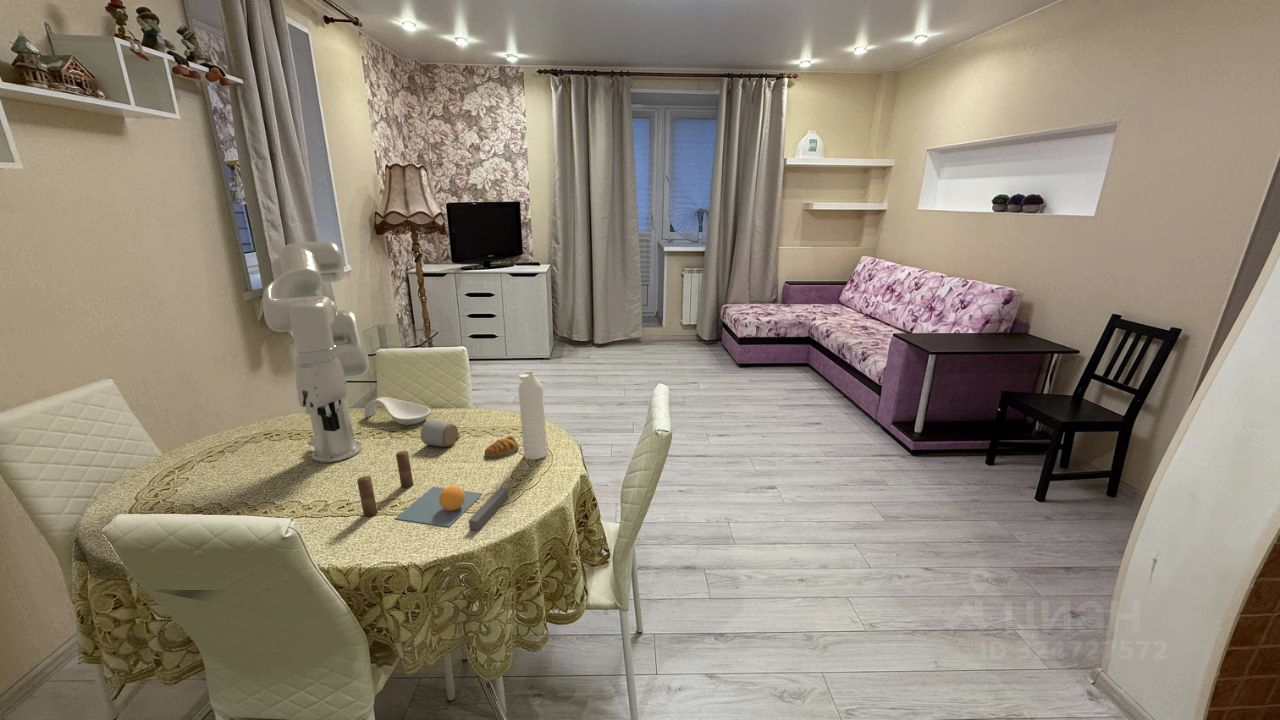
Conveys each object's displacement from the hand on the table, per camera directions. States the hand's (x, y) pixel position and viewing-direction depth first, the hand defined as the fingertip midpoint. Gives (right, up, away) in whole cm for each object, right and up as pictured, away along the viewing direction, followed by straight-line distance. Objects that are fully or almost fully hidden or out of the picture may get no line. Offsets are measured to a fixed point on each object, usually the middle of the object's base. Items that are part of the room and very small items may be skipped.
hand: (332, 429), depth 125 cm
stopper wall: (+39, -19, -5) cm, 44 cm away
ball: (+30, -16, -4) cm, 34 cm away
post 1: (+11, -19, -4) cm, 22 cm away
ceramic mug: (+15, -8, +32) cm, 36 cm away
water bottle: (+44, -11, +22) cm, 50 cm away
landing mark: (+26, -18, -2) cm, 32 cm away
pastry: (+34, -10, +25) cm, 44 cm away
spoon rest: (-7, -4, +49) cm, 50 cm away
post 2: (+14, -15, +8) cm, 22 cm away
